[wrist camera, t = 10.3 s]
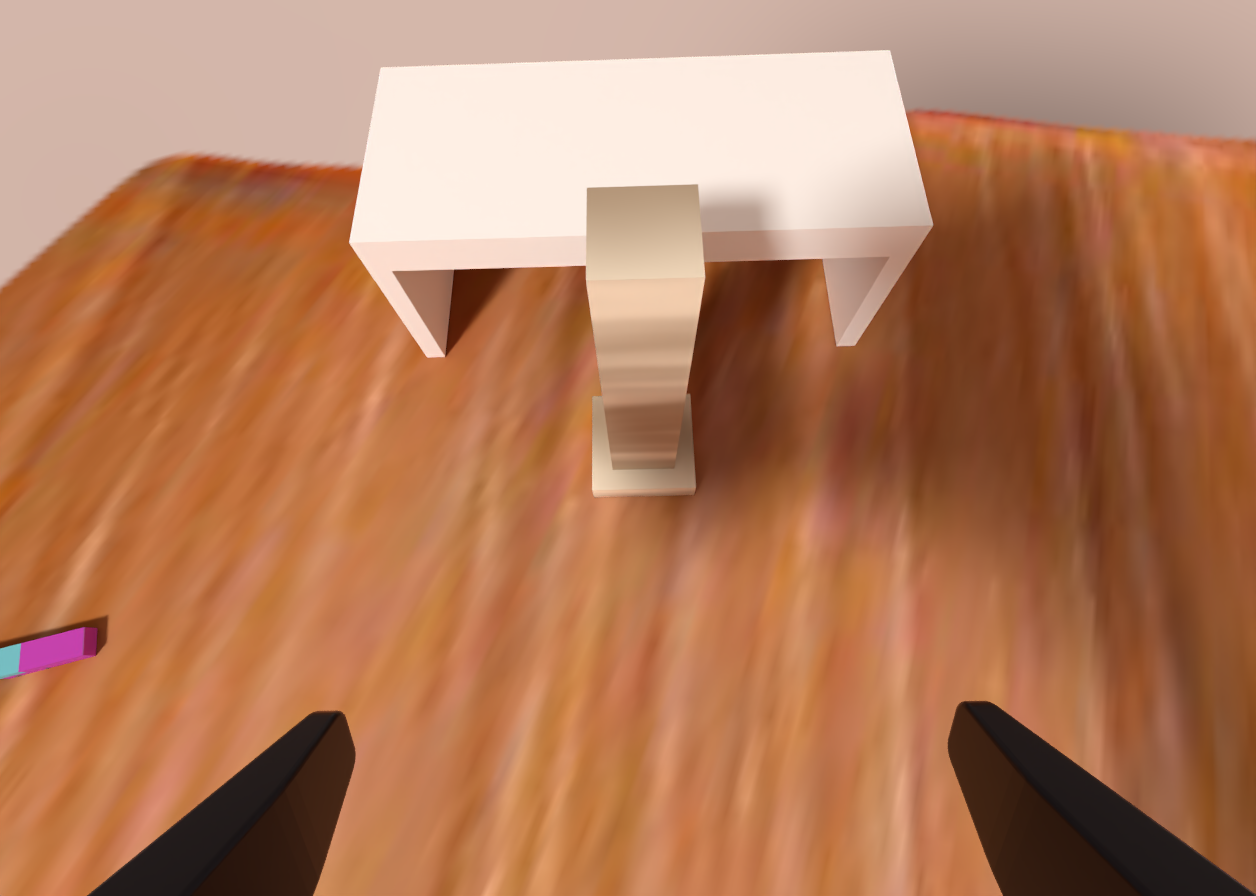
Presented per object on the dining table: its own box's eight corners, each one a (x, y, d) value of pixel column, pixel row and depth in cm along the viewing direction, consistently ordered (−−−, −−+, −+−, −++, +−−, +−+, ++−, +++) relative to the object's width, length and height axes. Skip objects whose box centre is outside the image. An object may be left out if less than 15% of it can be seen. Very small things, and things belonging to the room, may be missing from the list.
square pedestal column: (731, 494, 24) (825, 308, 12) (556, 498, 24) (469, 317, 12) (705, 175, 30) (749, -171, 18) (564, 179, 30) (511, -162, 18)
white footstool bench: (854, 345, 26) (933, 225, 19) (426, 357, 26) (349, 242, 19) (829, 201, 29) (889, 50, 22) (443, 213, 29) (380, 67, 22)
